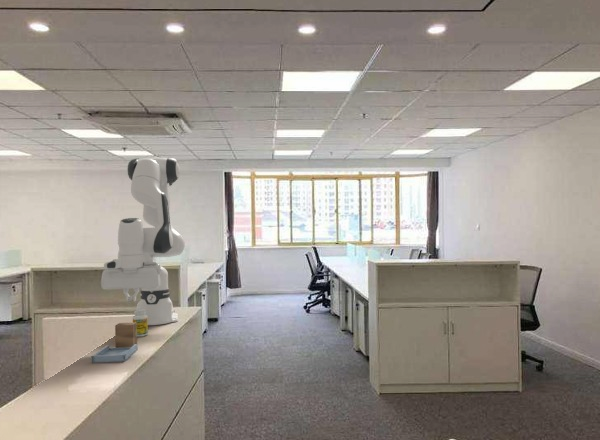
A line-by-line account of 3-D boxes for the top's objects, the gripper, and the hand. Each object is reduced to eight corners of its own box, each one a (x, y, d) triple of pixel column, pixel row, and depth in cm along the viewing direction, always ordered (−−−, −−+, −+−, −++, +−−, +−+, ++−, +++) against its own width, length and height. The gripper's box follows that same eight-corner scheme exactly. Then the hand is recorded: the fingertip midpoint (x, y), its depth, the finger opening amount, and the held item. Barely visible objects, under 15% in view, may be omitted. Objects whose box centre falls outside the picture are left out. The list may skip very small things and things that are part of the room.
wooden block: (119, 345, 158) (119, 322, 158) (136, 345, 159) (136, 322, 159) (115, 349, 154) (115, 325, 154) (133, 348, 155) (133, 324, 155)
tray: (107, 350, 152) (107, 344, 152) (137, 349, 153) (137, 343, 153) (91, 363, 139) (91, 356, 139) (125, 361, 139) (124, 355, 139)
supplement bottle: (145, 332, 177) (145, 308, 177) (149, 335, 173) (149, 310, 173) (131, 334, 174) (131, 309, 174) (134, 337, 170) (134, 311, 170)
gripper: (162, 261, 168) (162, 299, 167) (105, 263, 166) (105, 300, 166) (158, 262, 161) (158, 301, 161) (99, 264, 160) (99, 303, 159)
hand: (131, 301), depth 163 cm, fingers closed
